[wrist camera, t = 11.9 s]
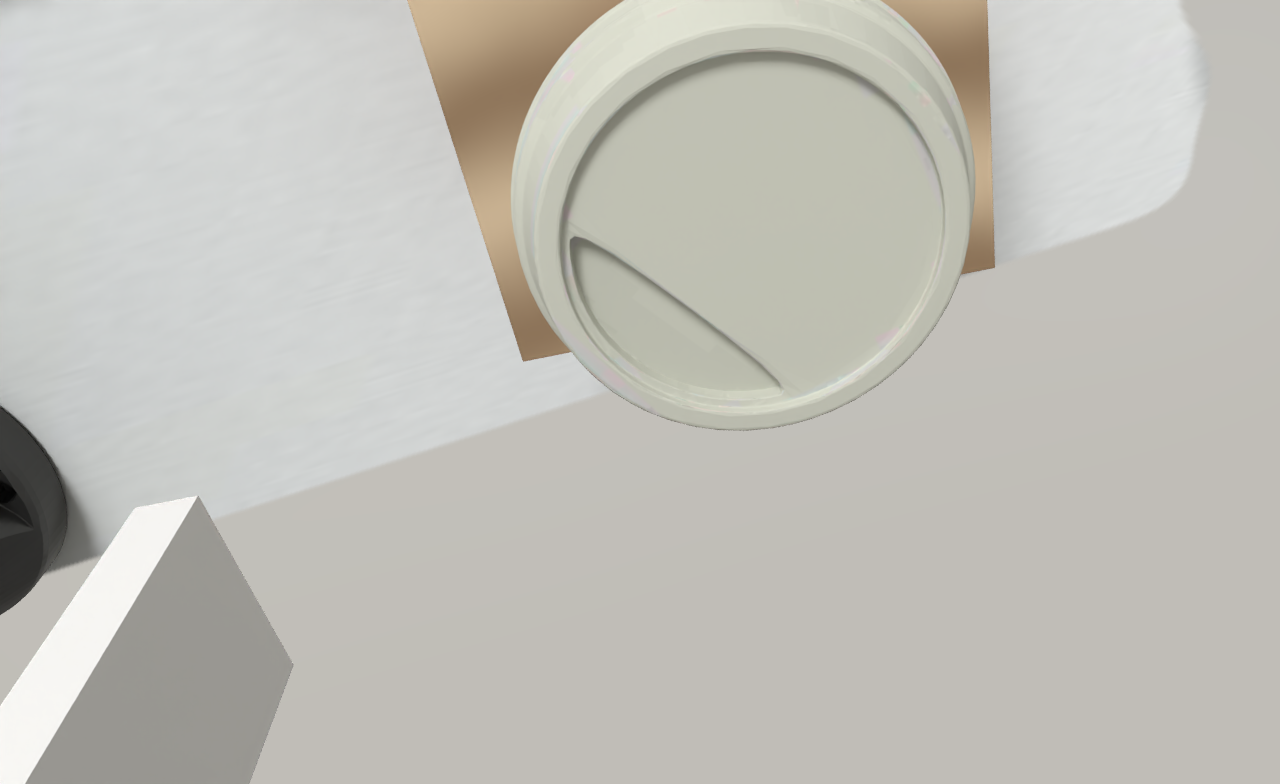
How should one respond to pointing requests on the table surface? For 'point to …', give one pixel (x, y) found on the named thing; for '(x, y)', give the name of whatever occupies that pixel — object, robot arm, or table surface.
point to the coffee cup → (744, 204)
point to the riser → (535, 40)
